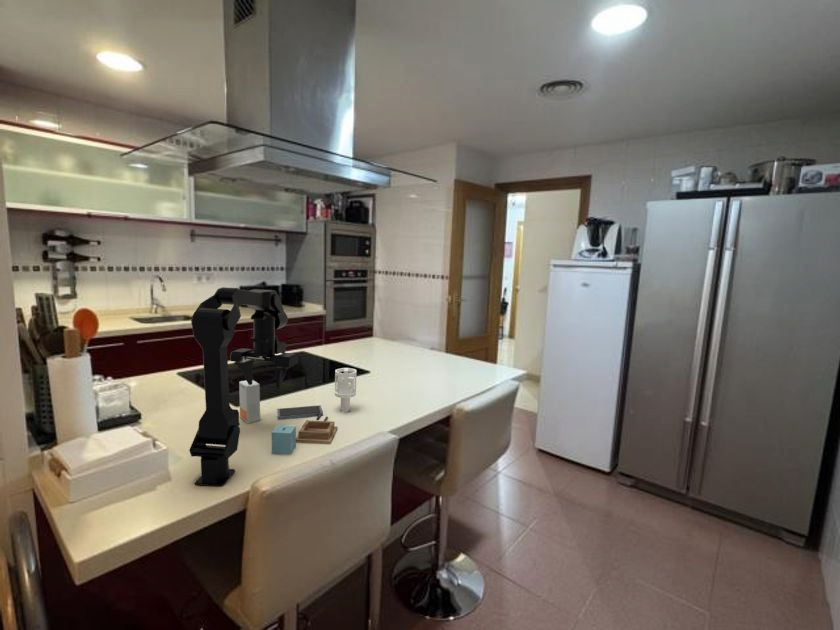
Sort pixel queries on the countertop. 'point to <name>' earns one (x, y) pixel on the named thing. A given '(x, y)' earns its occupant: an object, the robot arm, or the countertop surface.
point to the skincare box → (249, 401)
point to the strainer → (345, 386)
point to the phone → (299, 412)
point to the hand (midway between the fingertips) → (264, 386)
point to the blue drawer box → (283, 439)
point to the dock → (316, 432)
